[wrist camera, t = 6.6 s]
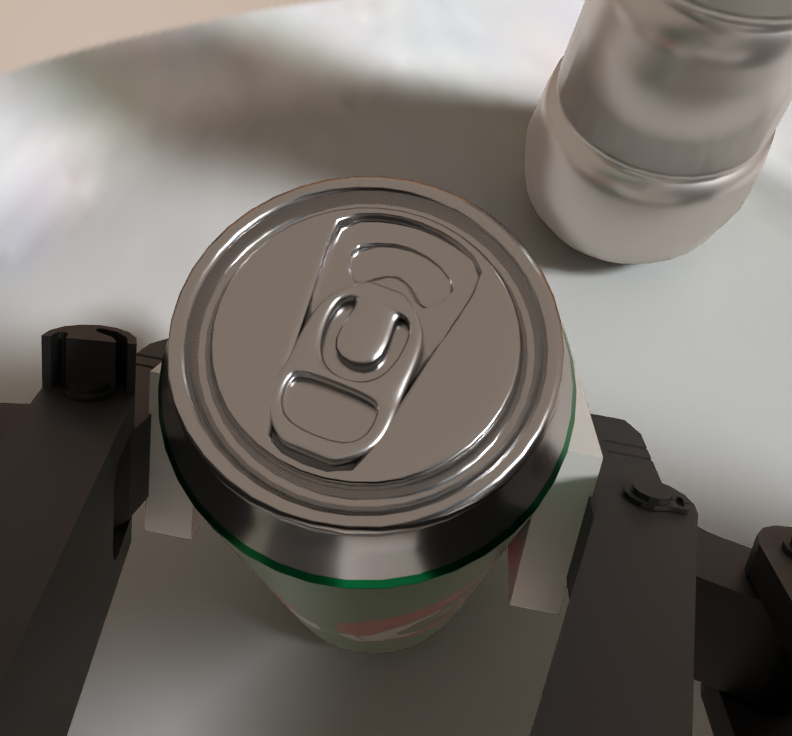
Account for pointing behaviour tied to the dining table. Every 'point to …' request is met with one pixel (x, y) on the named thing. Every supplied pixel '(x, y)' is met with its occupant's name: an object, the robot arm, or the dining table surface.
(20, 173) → the dining table surface
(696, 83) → the plastic bottle
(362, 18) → the dining table surface
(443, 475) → the soda can
